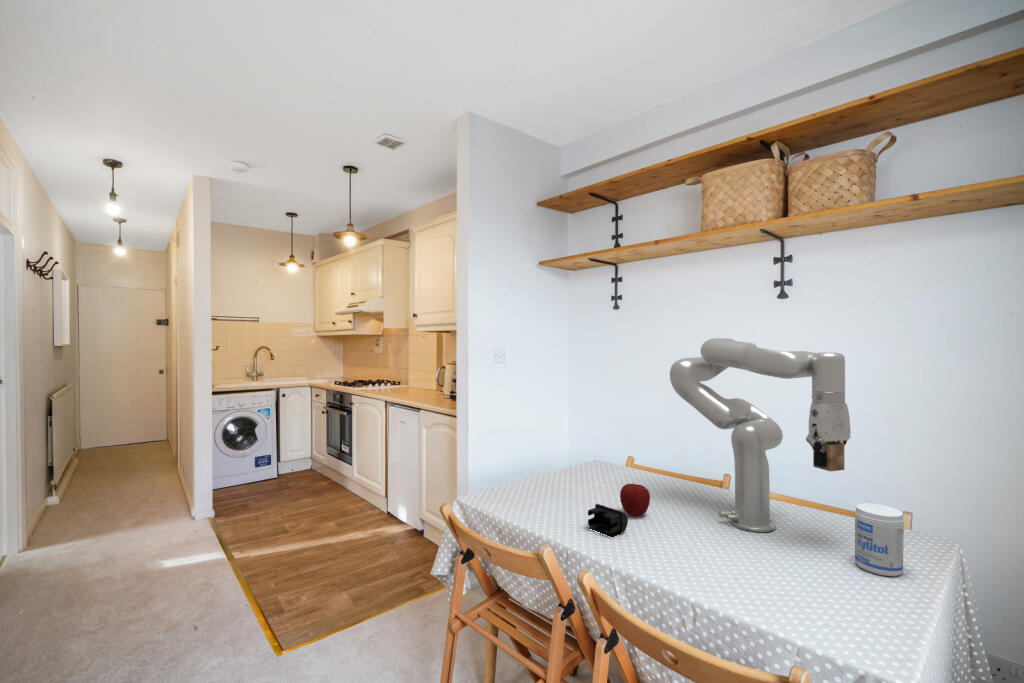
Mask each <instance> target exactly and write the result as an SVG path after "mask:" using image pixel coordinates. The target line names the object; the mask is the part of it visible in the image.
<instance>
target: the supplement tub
mask: <svg viewBox="0 0 1024 683" xmlns="http://www.w3.org/2000/svg"><path fill="white" fill-rule="evenodd" d="M854 514H855V515H854V562H855V564H856V565H857V566H858V567H859V568H860V569H862V570H863V571H867V572H869V573H872V574H876V575H879V576H886V577H897V576H901V575H902V574H903V573H904V544H905V543H904V536H905V535H904V532H905V529H904V527H905V526H904V525H905V524H904V522H905V521H904V514H903V511H901V510H899V509H897V508H895V507H892V506H888V505H884V504H878V503H869V502H867V503H866V502H863V503H857V504H856V506H855V513H854Z"/></svg>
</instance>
